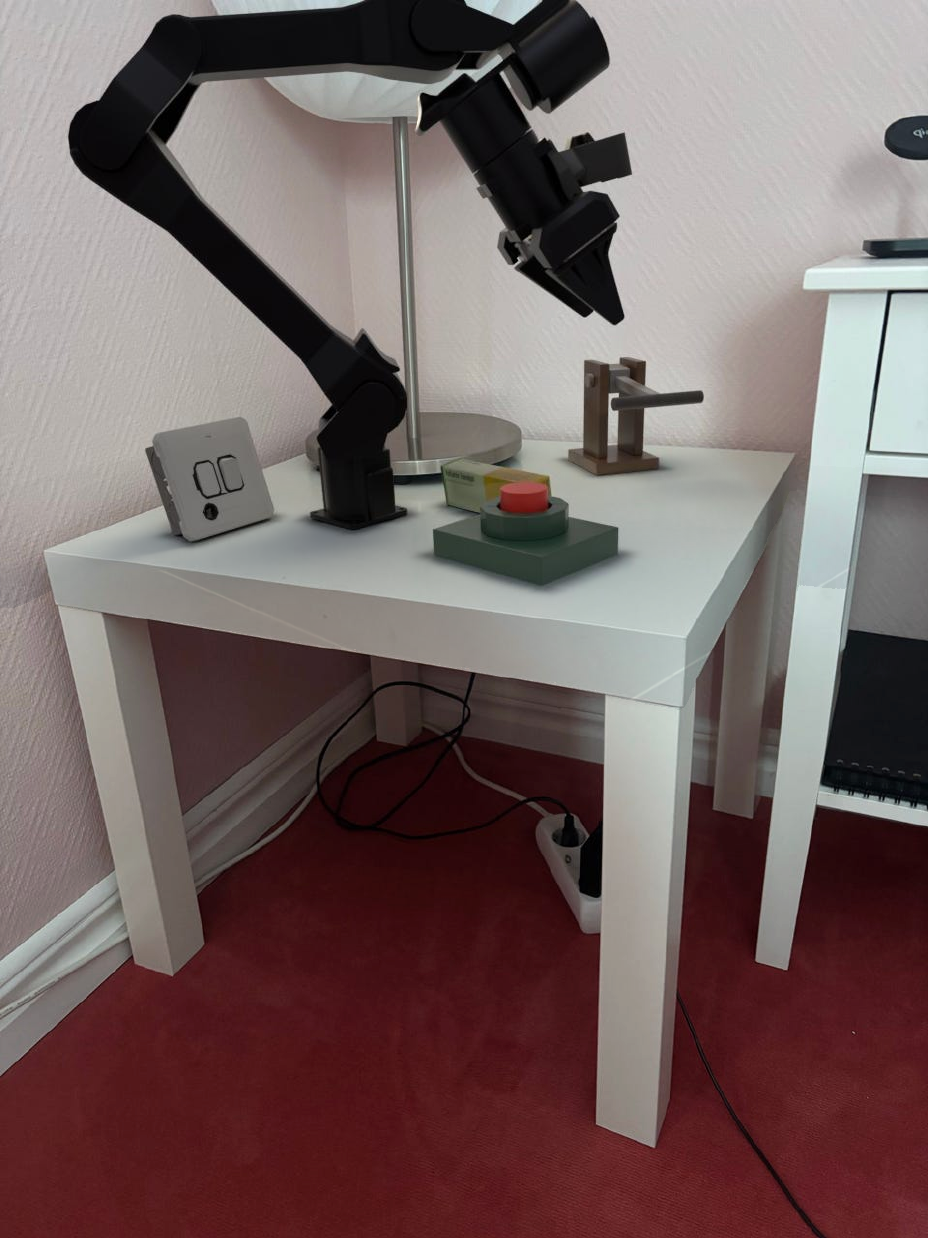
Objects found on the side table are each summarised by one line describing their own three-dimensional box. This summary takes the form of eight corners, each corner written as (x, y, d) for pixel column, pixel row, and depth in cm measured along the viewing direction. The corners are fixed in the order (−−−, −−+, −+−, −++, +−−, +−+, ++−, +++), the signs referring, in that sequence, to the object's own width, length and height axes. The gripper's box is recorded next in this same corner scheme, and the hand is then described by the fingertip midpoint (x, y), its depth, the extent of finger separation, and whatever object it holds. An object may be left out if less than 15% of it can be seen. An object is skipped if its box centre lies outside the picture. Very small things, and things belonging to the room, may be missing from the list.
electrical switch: (191, 545, 76) (166, 433, 73) (156, 541, 79) (132, 434, 76) (277, 518, 82) (258, 415, 80) (242, 516, 86) (223, 416, 83)
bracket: (659, 468, 94) (663, 362, 90) (596, 475, 93) (598, 366, 89) (626, 454, 102) (629, 354, 97) (568, 460, 100) (568, 358, 96)
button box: (433, 556, 71) (430, 506, 69) (511, 529, 76) (510, 482, 75) (541, 586, 63) (541, 531, 62) (618, 554, 69) (619, 503, 68)
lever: (702, 410, 86) (705, 385, 85) (615, 418, 84) (616, 392, 83) (647, 383, 97) (649, 360, 95) (568, 390, 94) (569, 366, 93)
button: (490, 511, 68) (490, 488, 68) (522, 501, 71) (521, 479, 70) (526, 519, 66) (526, 496, 65) (558, 508, 68) (558, 486, 68)
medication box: (444, 506, 84) (437, 464, 83) (466, 498, 86) (460, 456, 84) (534, 529, 76) (529, 482, 74) (556, 519, 77) (552, 473, 75)
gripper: (621, 63, 63) (725, 260, 69) (557, 103, 80) (645, 258, 86) (490, 166, 64) (605, 351, 70) (455, 184, 81) (549, 331, 87)
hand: (603, 318), depth 78 cm, fingers open, 9 cm apart
